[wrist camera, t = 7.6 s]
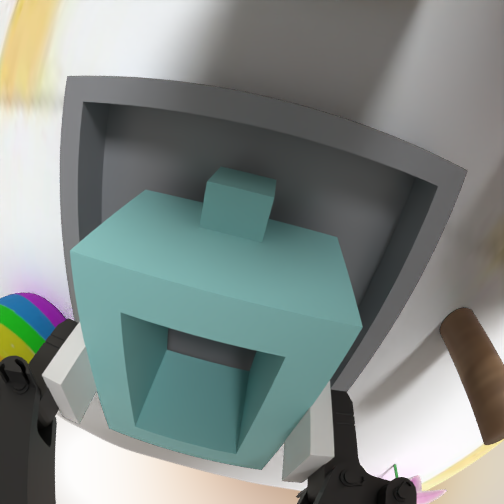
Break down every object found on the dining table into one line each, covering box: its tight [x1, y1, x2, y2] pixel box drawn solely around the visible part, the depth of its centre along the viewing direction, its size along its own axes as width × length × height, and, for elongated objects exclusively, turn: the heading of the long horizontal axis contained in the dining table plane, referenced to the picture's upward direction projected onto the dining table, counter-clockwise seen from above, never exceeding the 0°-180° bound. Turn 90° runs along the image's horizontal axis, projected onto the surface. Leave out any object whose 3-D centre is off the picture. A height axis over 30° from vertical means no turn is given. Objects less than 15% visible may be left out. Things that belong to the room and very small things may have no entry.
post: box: [440, 308, 504, 445], centre depth 12 cm, size 2×2×8 cm
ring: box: [70, 167, 363, 470], centre depth 11 cm, size 8×12×5 cm, turn 167°
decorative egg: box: [0, 293, 66, 364], centre depth 15 cm, size 8×8×10 cm
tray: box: [60, 76, 467, 392], centre depth 14 cm, size 16×15×3 cm
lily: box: [394, 464, 447, 504], centre depth 24 cm, size 12×12×10 cm
